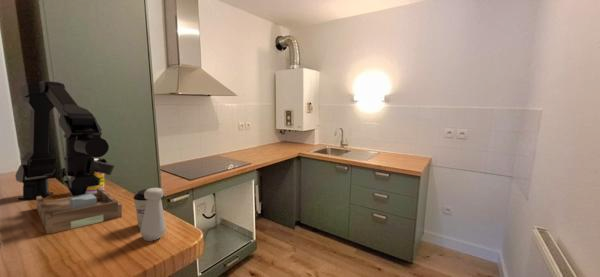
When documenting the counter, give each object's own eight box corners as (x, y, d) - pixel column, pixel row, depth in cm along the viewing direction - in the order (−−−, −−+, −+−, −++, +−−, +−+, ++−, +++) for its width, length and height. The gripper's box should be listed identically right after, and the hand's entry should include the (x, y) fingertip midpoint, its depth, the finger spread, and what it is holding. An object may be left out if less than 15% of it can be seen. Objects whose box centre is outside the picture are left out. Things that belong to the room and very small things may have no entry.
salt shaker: (154, 244, 61) (154, 193, 60) (134, 241, 62) (134, 190, 61) (170, 234, 67) (171, 187, 66) (152, 231, 68) (153, 184, 67)
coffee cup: (137, 221, 73) (137, 188, 72) (163, 219, 76) (163, 187, 75) (129, 231, 67) (130, 195, 66) (158, 229, 69) (159, 194, 68)
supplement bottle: (100, 194, 94) (100, 161, 93) (79, 195, 92) (78, 161, 91) (107, 189, 100) (106, 158, 99) (86, 189, 98) (86, 158, 97)
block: (69, 211, 72) (69, 196, 72) (91, 207, 76) (91, 193, 76) (74, 217, 69) (73, 201, 68) (96, 212, 73) (96, 197, 72)
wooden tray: (36, 208, 78) (36, 193, 77) (100, 197, 90) (100, 184, 90) (47, 234, 63) (46, 215, 62) (121, 217, 75) (121, 201, 75)
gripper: (120, 155, 75) (120, 205, 76) (103, 148, 86) (103, 191, 87) (71, 159, 66) (72, 215, 67) (59, 150, 78) (60, 198, 79)
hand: (79, 203), depth 75 cm, fingers closed
